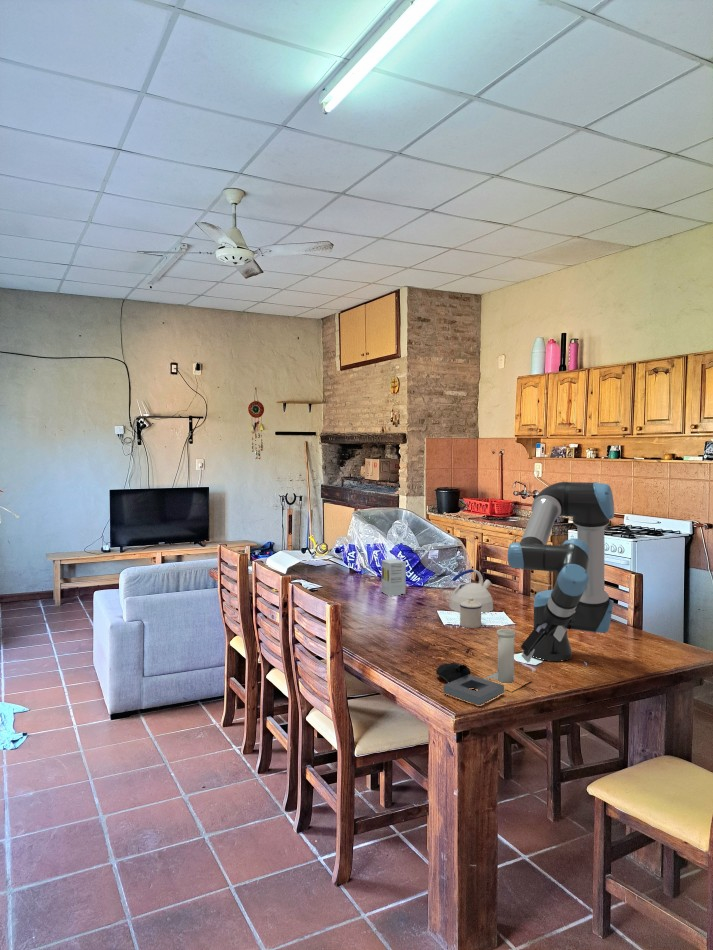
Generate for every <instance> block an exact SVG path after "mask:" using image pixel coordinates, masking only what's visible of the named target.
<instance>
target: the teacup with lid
mask: <svg viewBox="0 0 713 950" xmlns="http://www.w3.org/2000/svg"><path fill="white" fill-rule="evenodd" d="M481 607H482V605H481V603H479V602H476V601H475V600H473V598H471V597H470V598H468V600H466V601H464V602H461V603H460V612H459V625H460V626H461V627H463V628H467V629H477V628H480V627H481V626H482V613H481Z"/></svg>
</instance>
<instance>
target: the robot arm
mask: <svg viewBox="0 0 713 950" xmlns="http://www.w3.org/2000/svg"><path fill="white" fill-rule="evenodd" d="M614 502H615V501H614V496H613V491H612V488H611V486H610V485H609V484H607V483H599V482H596V481H595V482H579V481H578V482H577V481H576V482H573V481H569V482H568V481H561V482H556V483H553V484H550V485H548V486H546V487H545V488H543V489H542V490H540V492H538V493H537V494H536V496H535V497H534V499H533V501H532V503H531V514H530V516H529V519H528V522H527V524H526V525H525V526H526V527H525V529H524V532H523V534H522V537H521V539H520V542H518V541H517V542H510V544H509V545H508V549H507V564H508V566H509V567H511V568H513V569H520V570H529V571H542V572H551V573H554V572H555V573H557V576H556V580H555V583H554V586H553V588H552V589H547V590H546V589H545V590H542V591H538V592H536V594H535V595H534V597H533V598H534V600H533V606H532V607H533V629H532V631H531V632H530V634H529V635H528V636H527V637H526V638H525V640H524V641H523V642H522V644H521V645H520V648H521V649H522V651H523V652H522V654H521V657H522V658H523V659H524V660H525V661H526V663H530V661H531V659H532V658H533V657H532V656H534V657H537V658H541V659H544V660H549V661H548V662H551V661H561V660H567V659H569V658H571V657H572V658H573V651H572V647H571V643H570V639H569V638H568V630H573V631H575V630H576V631H580V632H589V633H594V634H596V633H597V634H598V633H600V634H606V633H608V632H609V631H610V625H611V620H612V614H613V608H614V600H612V599H610V595H609V593H608V592H607V591H606V590H605V528H606V527H607V526H608V525H609V524H610V520H612V519H614V517H615V503H614ZM559 517H567V518H568V517H569V518H570V517H571V518H572V524H573V525H575V526H576V529H577V538H573V537H572V538H570V539H566V540H565V541H564V542H563V543H562V545H555V544H548V542H549V539H550V535H551V534H552V533H551V532H552V530H553V527H554V525H555V521H556V520H557V519H558V518H559ZM572 658H571V659H572ZM544 660H543V661H544ZM567 661H568V660H567ZM561 662H562V661H561Z"/></svg>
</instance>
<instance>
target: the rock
mask: <svg viewBox="0 0 713 950" xmlns="http://www.w3.org/2000/svg"><path fill="white" fill-rule="evenodd" d="M435 672H436V675H438V676H439V677H441V678H442V679H444V680H445V681H446V683H448V682H449V683H450V682H452V681H454V680H457V679H459V678H461V677H464V676H466V675H468V674H469V675H472V673H471V669H470V668H469V666H468V665H466V664H461V663H458V662H457V663H456V662H450V663H442V664H441V665H439V666H438V667H437V668H436V671H435Z"/></svg>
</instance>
